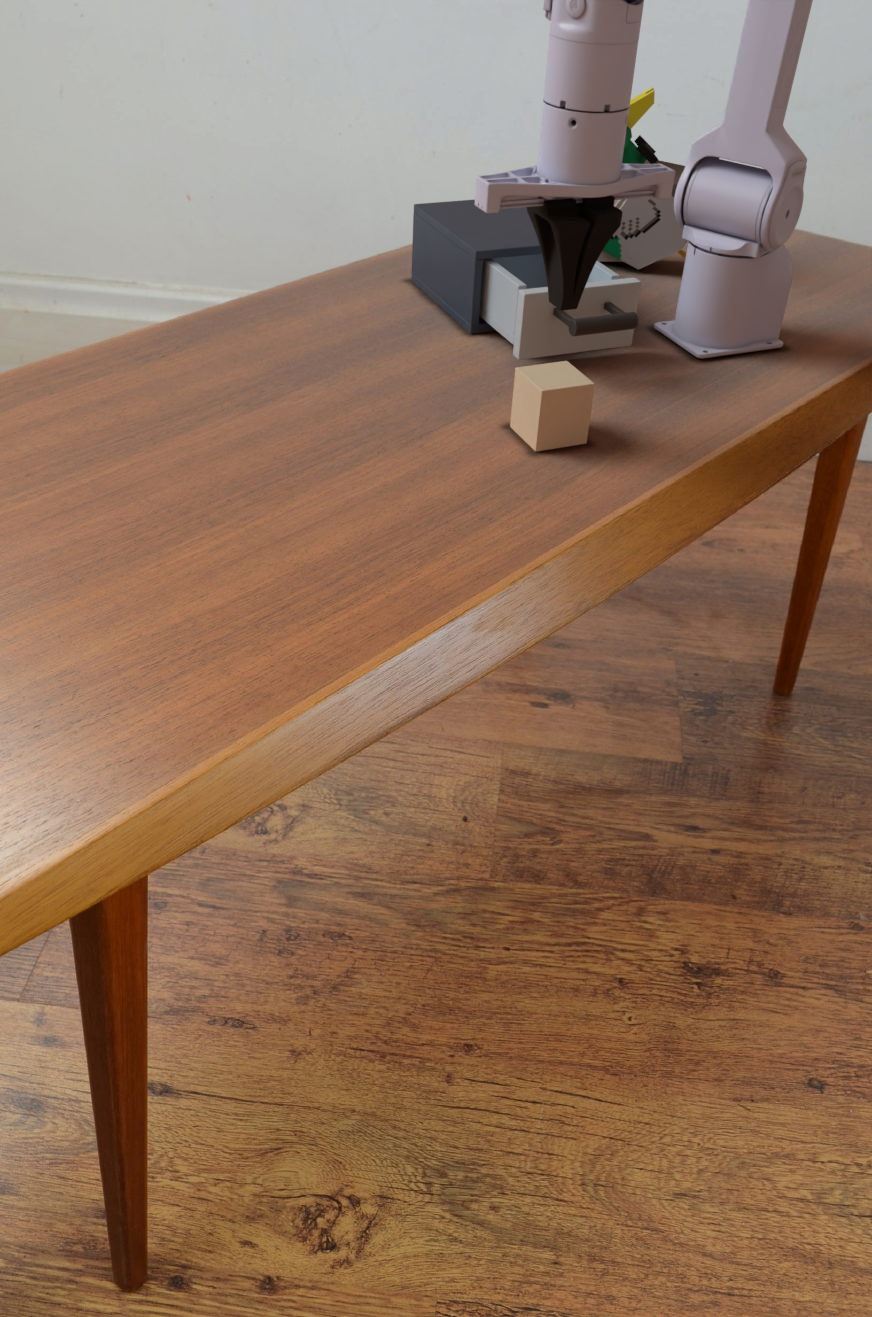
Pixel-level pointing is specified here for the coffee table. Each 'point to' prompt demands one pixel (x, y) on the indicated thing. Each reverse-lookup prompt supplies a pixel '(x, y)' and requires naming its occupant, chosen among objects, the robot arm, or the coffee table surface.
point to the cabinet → (464, 253)
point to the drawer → (543, 329)
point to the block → (551, 405)
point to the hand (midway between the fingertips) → (562, 304)
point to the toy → (644, 206)
